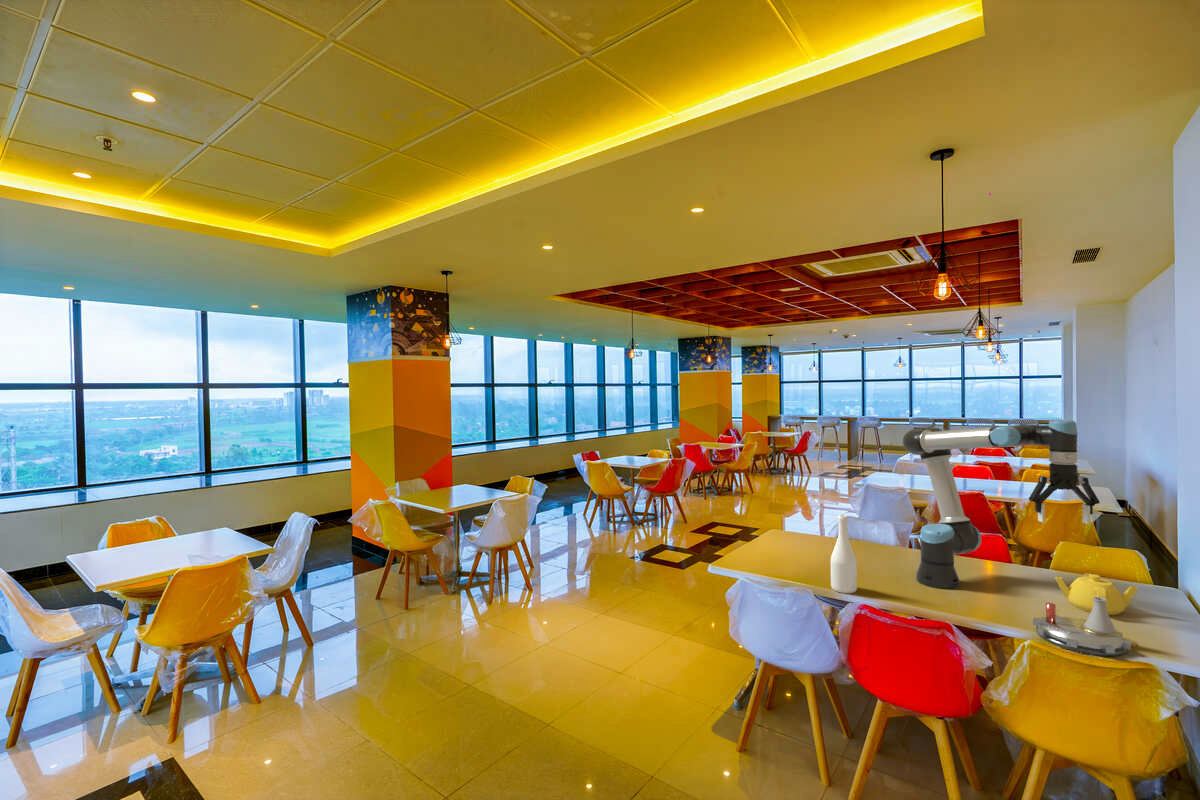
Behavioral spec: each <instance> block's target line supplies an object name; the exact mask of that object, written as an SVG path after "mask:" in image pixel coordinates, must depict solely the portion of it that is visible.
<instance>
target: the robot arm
mask: <svg viewBox="0 0 1200 800" xmlns="http://www.w3.org/2000/svg"><path fill="white" fill-rule="evenodd" d="M1077 425H1078V424H1077V422H1075V421H1074V420H1067V419H1066V420H1065V419H1052V420H1049V422H1048V424H1047V425H1046V424H1045V425H1044V424H1028V423H1019V424H1013V425H1000V426H991V427H979V428H965V429H963V428H962V429H955V430H951V429H950V430H946V429H944V428H941V427H922V428H913V429H910V430H909V431H907V432H906V433H905V434H904V435H903V438H902V445H903V447H904V449H905V450H906V451H907V452H908V453H909V454H911V455H915V456H916V455H917V456H919V458H920V460H921V462H924V463H925V464H926V466H927V471H928V475H929V478H930V483H931V485H932V489H933V493H934V497H935V500H936V505H937V508H938V511H939V516H940V520H939V521H938V522H936V523H927V524H925V525H923V526H922V527H921V529H920V533H919V537H920V563H919V566H918V568H917V571H916V574H915V575H916V576H915V577H916V578H915V579H916V581H917V582H918V583H920V584H923V585H924V586H928V587H931V588H938V589H946V590H948V589H949V590H950V589H952V590H953V589H957V588H959V587H960V578H959V576H958V573H957V570H956V568H955V556H957V555H961V554H969V553H972V552H974V551H977V549H979V547H980V545H981V543H982V535H981V533H980V530H979V529H978V528H977V527H976V526H974V525H973V524H972V522H971V519H970V518H969V517H967V516H966V515H965V512H964V509H963V505H962V502H961V497H960V495H959V490H958V487H957V484H956V480H955V476H954V474H953V470H952V466H951V462H950V459H951V457H952V456H953V455H952V452H951V451H952V450H958V449H959V450H962V449H963V450H964V449H977V448H982V449H983V448H995V447H996V448H1008V447H1009V448H1011V447H1019V446H1032V445H1033V446H1044V447H1045V446H1046V447H1047V446H1048V449H1049V452H1048V453H1049V460H1048V461H1049V464H1048V465H1049V476H1044V475H1043V476H1042V475H1040V476H1039V477H1038V482H1037V484H1036V485H1035V487H1034V489H1033V490H1032V493H1031V494H1030V496H1029V497H1028V501H1030V502H1033V503H1034V505H1035V506H1034V508H1035V510H1034V511H1035V512H1036V513H1037V521H1038V522H1041V523H1046V518H1045V517H1046V516H1045V513H1046V512H1045V508H1046V506H1045V504H1044V502H1045V501H1046V500H1047V499H1048V498H1049V497H1050V496H1052V494H1053V493H1054V492H1055V491H1057V490H1060V491H1061V490H1062V491H1063V490H1067V491H1068V490H1069V491H1070V490H1071V491H1072V492H1074V494H1075V495H1077V497H1079V499H1080V500H1081V501H1083V504H1082V523H1083V524H1086V525H1090V524H1091V515H1093V514H1094V513H1093V509H1094V506H1096V505H1099V504H1100V499H1099V498H1098V496H1097V495H1096V493H1095V491H1094V490H1093V488H1092V486H1091V485H1090V482H1089V478H1088V477H1085V476H1080V477H1078V464H1077V463H1078V433H1079V432H1078V427H1077ZM1048 482H1049V484H1048ZM1078 483H1079V484H1080V485H1081V487H1082V489H1083V490H1084V492H1085V493H1084V492H1083V491H1082V490H1081V488H1079V486H1078V485H1077V484H1078ZM1047 484H1048V485H1047ZM1046 485H1047V488H1046Z"/></svg>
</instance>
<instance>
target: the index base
mask: <svg viewBox="0 0 1200 800" xmlns="http://www.w3.org/2000/svg"><path fill="white" fill-rule="evenodd" d="M1036 634H1037V635H1038V636H1039V637H1040V638H1042V639H1043V640H1044V641H1047V642H1048V643H1051V644H1053V645H1055V646H1058V647H1059V648H1060V647H1061V648H1063V649H1066V650H1069V651H1072V652H1073V651H1074V652H1076V653H1082V654H1084V655H1085V654H1086V655H1091V656H1099V657H1113V658H1114V657H1121V656H1123V655H1126V654H1127V651H1128V650H1127V649H1124V648H1123V649H1122V650H1119V651H1115V653H1105V652H1103V651H1096V650H1089V649H1084V648H1080V647H1078V648H1074V647H1070V646H1067V645H1066V644H1065V643H1062V642H1059V641H1057V640H1054V639H1052V638H1050V637H1048V636H1042V635H1041V634H1039V633H1038V626H1036ZM1123 638H1124V640H1126V641H1130V642H1131V647H1134V648H1135V647H1136V648H1137V647H1138V642H1136V641H1135V640H1133V639H1132V638H1129V637H1123Z"/></svg>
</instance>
